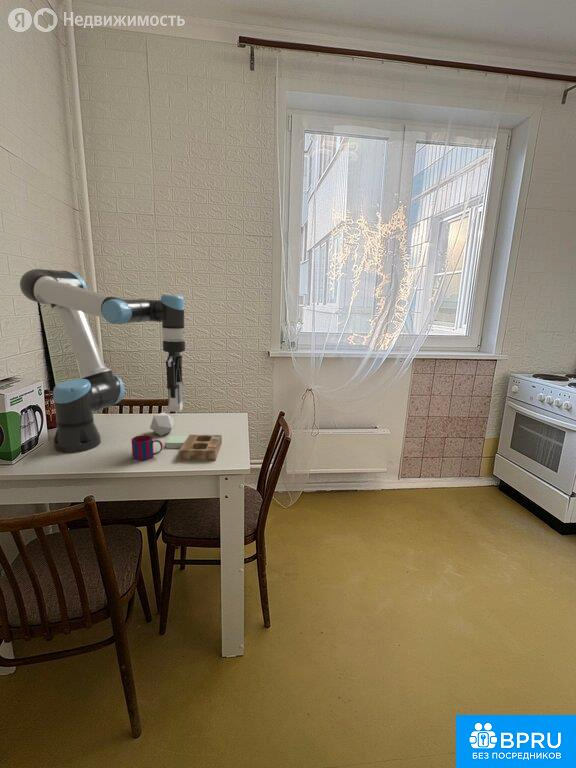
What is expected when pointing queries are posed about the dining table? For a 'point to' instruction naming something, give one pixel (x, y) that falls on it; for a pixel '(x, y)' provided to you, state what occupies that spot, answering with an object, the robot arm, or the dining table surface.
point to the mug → (143, 447)
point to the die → (162, 424)
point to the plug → (180, 402)
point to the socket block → (201, 447)
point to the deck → (176, 441)
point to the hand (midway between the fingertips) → (175, 404)
